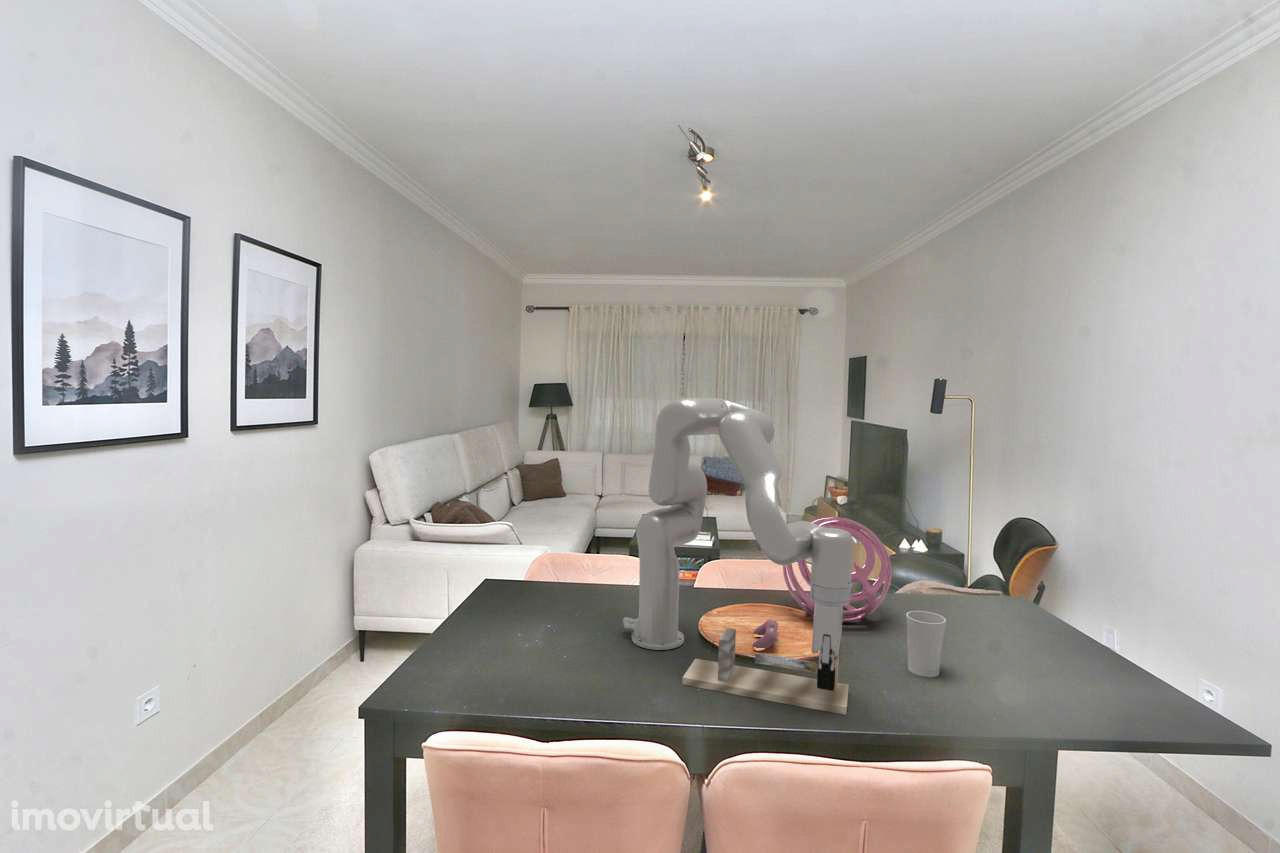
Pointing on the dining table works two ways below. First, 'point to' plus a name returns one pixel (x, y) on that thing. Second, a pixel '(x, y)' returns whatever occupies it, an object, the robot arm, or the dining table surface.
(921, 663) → the cup
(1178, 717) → the dining table surface
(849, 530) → the spiral basket
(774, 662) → the peg
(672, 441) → the robot arm
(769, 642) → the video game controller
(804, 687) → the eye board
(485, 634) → the dining table surface
